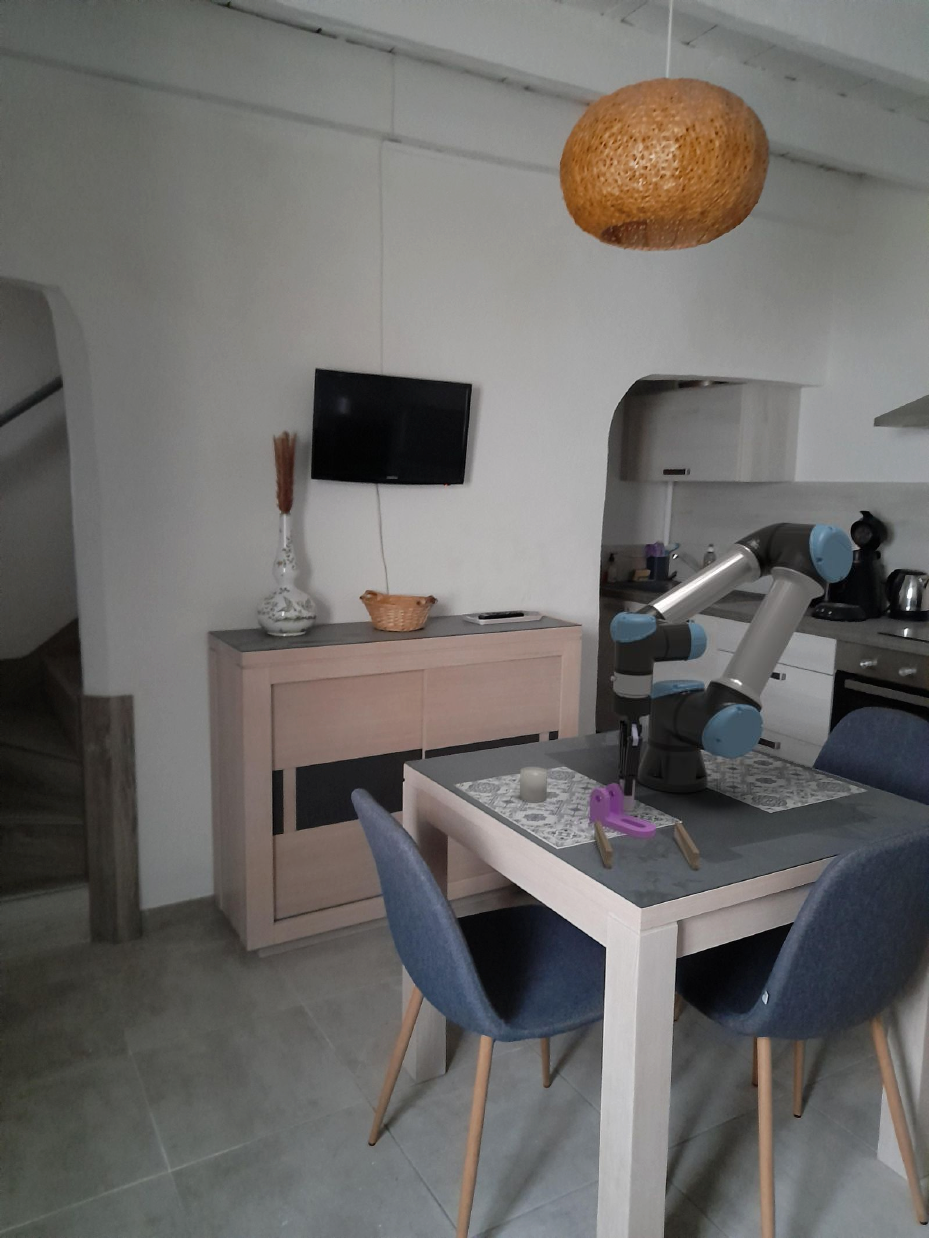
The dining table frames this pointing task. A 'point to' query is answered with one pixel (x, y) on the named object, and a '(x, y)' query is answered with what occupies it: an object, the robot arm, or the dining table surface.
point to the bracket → (617, 813)
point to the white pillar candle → (533, 784)
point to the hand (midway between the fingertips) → (625, 809)
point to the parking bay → (679, 835)
